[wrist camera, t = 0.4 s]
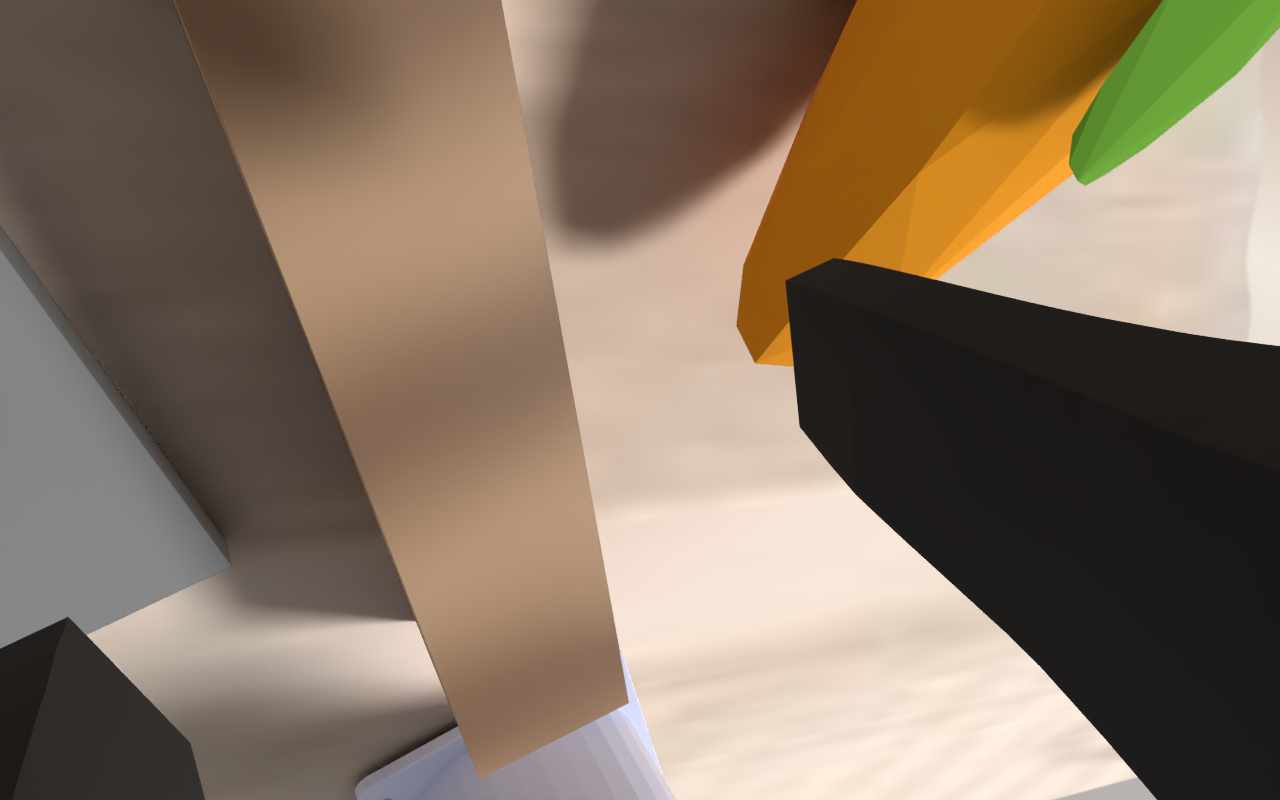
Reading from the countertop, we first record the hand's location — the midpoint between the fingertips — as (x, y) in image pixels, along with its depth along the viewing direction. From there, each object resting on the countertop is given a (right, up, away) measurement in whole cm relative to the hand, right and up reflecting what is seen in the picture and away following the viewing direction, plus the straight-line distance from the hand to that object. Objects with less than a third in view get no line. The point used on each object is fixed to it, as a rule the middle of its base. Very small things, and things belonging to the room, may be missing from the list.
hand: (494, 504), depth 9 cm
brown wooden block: (-4, +3, +9) cm, 10 cm away
